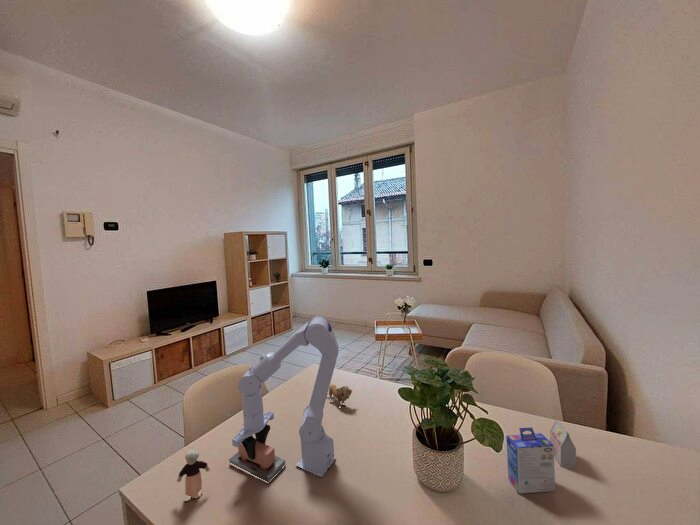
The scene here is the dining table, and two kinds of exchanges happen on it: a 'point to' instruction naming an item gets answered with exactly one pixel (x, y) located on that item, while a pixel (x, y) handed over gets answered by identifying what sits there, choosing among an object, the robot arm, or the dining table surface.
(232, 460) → the slotted metal plate
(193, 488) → the grandmother figurine
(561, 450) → the white gable-top carton
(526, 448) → the ink cartridge box
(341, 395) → the lion figurine
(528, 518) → the dining table surface
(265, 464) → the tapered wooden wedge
